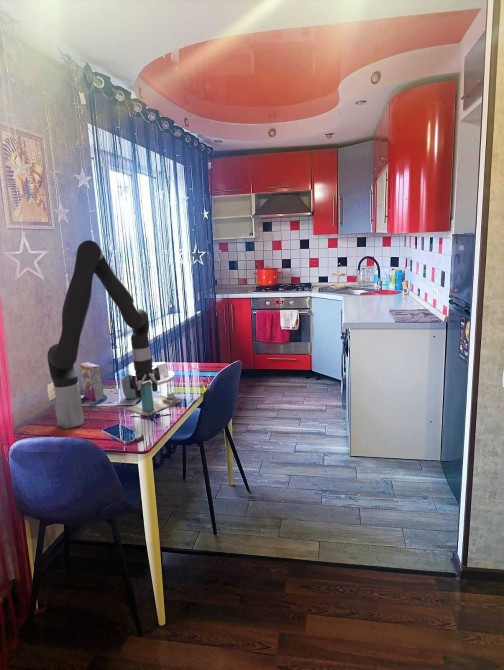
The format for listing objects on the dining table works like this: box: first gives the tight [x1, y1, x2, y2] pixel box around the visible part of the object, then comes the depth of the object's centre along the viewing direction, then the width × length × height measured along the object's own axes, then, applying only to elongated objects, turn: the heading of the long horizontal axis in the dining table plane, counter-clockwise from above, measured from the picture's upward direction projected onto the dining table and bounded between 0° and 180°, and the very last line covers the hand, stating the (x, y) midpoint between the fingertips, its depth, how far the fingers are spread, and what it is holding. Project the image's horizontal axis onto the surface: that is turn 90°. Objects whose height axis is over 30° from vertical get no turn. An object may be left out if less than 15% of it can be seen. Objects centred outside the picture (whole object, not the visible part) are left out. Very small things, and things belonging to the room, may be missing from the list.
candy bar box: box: [78, 361, 105, 402], centre depth 219 cm, size 11×5×16 cm, turn 47°
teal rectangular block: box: [140, 381, 154, 412], centre depth 197 cm, size 4×4×12 cm
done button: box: [166, 391, 176, 400], centre depth 207 cm, size 3×3×2 cm
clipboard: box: [126, 394, 182, 417], centre depth 205 cm, size 19×14×2 cm
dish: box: [132, 362, 176, 386], centre depth 245 cm, size 25×25×11 cm
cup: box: [120, 374, 138, 400], centre depth 217 cm, size 8×8×10 cm
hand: (147, 394), depth 198 cm, fingers open, 8 cm apart
